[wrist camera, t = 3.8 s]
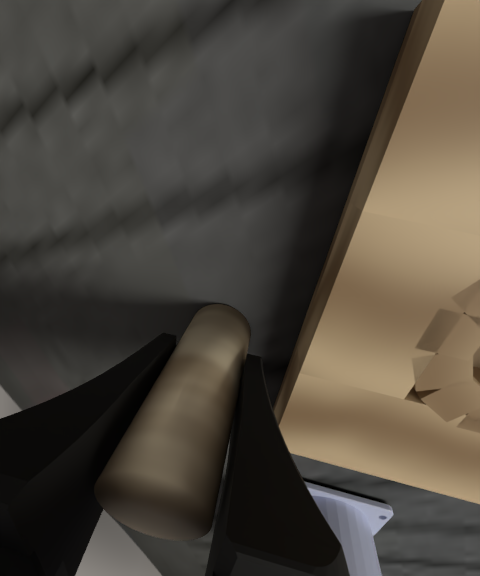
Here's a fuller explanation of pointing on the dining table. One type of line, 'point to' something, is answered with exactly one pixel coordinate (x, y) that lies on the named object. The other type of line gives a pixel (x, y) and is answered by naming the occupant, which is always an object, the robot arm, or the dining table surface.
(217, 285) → the dining table surface
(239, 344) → the dowel
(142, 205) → the dining table surface
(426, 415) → the bore board
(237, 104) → the dining table surface
